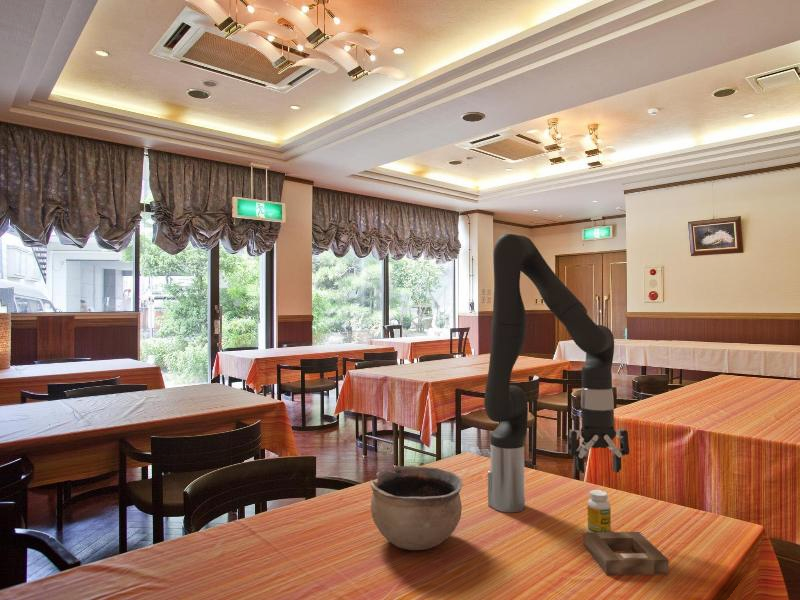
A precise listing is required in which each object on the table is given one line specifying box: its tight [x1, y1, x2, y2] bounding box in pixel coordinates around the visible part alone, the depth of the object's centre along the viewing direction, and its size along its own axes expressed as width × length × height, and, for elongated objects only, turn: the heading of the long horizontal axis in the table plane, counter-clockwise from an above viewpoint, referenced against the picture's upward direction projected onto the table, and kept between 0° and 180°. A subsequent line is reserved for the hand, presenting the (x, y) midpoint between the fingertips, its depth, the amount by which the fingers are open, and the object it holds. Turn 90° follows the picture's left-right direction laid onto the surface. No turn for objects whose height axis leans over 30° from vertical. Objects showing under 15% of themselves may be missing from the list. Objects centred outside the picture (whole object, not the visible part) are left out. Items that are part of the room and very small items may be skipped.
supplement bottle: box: [586, 489, 612, 532], centre depth 127 cm, size 5×5×10 cm
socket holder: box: [582, 531, 670, 576], centre depth 113 cm, size 13×13×3 cm
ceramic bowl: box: [370, 465, 464, 551], centre depth 122 cm, size 22×22×15 cm
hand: (598, 471), depth 127 cm, fingers open, 8 cm apart
